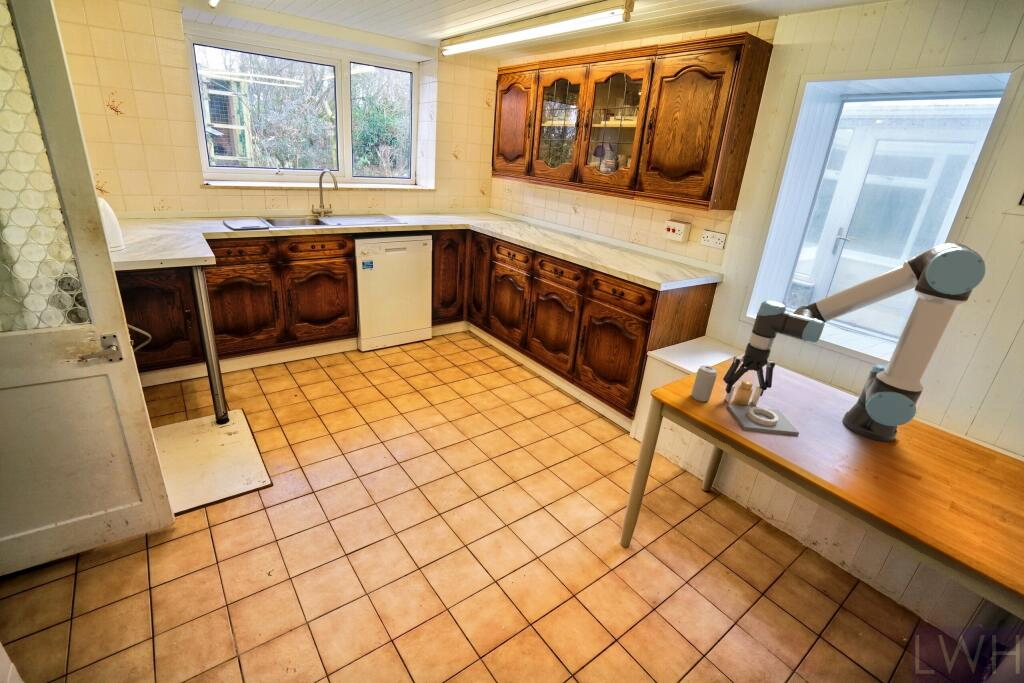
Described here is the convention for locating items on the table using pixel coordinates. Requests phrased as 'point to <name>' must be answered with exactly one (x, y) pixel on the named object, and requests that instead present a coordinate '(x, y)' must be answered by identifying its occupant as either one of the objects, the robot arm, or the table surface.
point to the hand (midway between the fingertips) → (740, 401)
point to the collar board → (760, 427)
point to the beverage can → (704, 383)
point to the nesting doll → (743, 393)
